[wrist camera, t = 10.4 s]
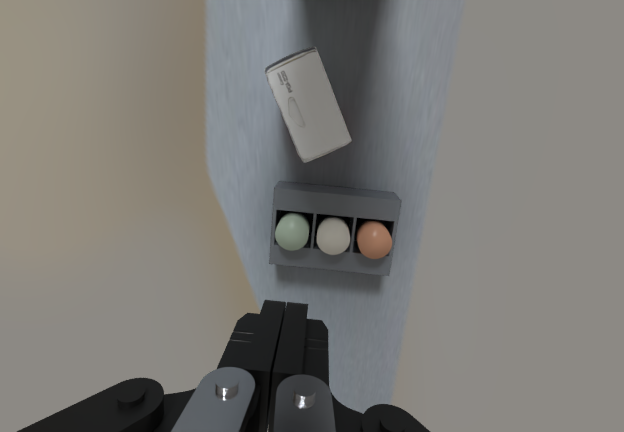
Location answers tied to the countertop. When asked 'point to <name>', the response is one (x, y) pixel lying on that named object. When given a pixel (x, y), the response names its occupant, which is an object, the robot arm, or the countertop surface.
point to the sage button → (292, 231)
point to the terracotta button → (373, 239)
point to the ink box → (308, 104)
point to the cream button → (333, 235)
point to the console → (338, 204)
